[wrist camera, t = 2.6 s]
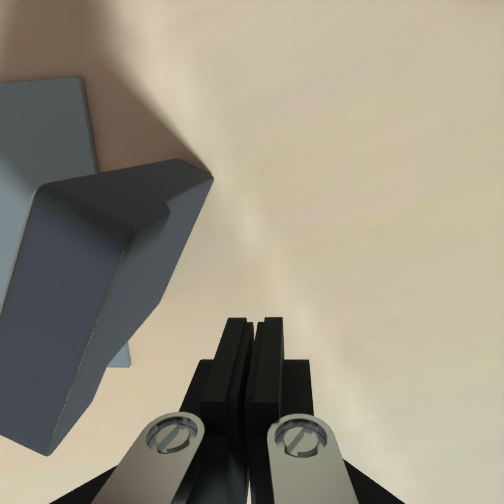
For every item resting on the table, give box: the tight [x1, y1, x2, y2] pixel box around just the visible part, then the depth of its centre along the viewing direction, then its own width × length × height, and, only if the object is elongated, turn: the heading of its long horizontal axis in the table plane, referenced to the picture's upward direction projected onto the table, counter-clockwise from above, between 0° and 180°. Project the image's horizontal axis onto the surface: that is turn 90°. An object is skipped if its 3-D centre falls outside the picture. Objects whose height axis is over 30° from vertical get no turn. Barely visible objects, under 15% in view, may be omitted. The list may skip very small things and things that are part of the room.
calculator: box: [0, 159, 214, 456], centre depth 21 cm, size 11×4×15 cm, turn 154°
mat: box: [0, 76, 131, 368], centre depth 29 cm, size 16×22×1 cm
